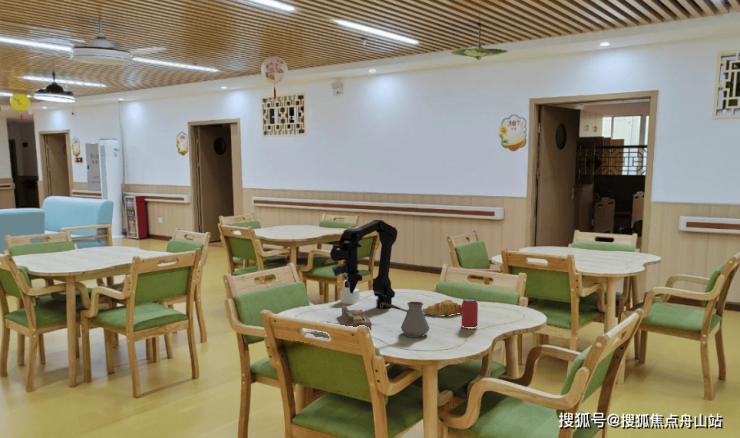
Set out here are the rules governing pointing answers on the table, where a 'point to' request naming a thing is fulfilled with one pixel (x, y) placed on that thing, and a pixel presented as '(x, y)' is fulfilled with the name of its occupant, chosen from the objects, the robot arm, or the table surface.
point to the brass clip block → (357, 318)
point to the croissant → (443, 308)
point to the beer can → (469, 312)
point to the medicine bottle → (349, 295)
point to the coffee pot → (413, 319)
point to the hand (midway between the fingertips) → (351, 293)
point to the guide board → (350, 319)
